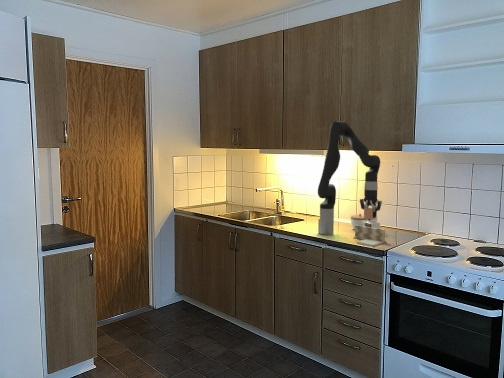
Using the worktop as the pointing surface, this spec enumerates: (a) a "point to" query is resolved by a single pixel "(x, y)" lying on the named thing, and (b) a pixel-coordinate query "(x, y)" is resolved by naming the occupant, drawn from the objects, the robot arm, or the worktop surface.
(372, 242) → the pale green pad
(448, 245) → the worktop surface
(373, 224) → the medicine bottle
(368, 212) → the terracotta block
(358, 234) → the birch screen
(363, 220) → the lidded bowl
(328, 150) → the robot arm
